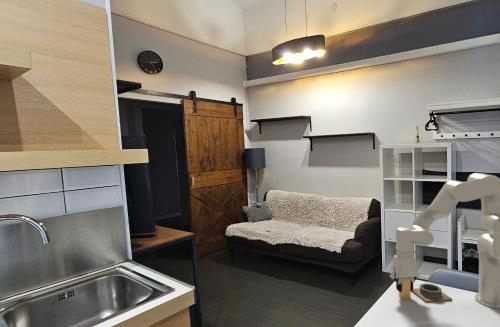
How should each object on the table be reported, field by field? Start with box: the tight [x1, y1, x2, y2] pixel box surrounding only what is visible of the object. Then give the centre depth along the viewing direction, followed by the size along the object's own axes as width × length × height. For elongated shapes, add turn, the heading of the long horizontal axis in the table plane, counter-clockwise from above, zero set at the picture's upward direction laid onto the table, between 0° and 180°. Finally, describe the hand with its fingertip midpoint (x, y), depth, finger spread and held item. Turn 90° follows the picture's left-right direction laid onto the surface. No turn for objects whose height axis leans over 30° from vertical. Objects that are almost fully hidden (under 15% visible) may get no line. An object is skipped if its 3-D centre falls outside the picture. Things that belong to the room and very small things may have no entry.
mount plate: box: [411, 283, 453, 303], centre depth 150 cm, size 13×12×4 cm
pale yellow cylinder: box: [398, 278, 412, 301], centre depth 149 cm, size 5×5×10 cm
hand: (404, 290), depth 149 cm, fingers closed on pale yellow cylinder, 5 cm apart
